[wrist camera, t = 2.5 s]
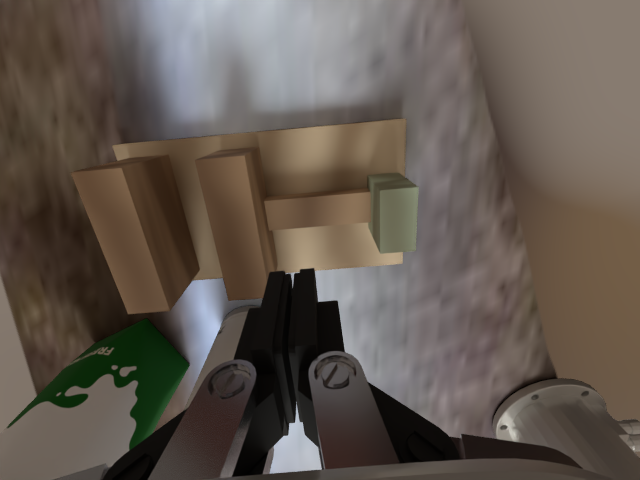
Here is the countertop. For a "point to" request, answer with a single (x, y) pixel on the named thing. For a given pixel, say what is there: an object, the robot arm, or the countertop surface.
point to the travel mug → (223, 345)
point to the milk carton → (94, 407)
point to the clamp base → (191, 214)
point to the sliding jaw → (292, 215)
